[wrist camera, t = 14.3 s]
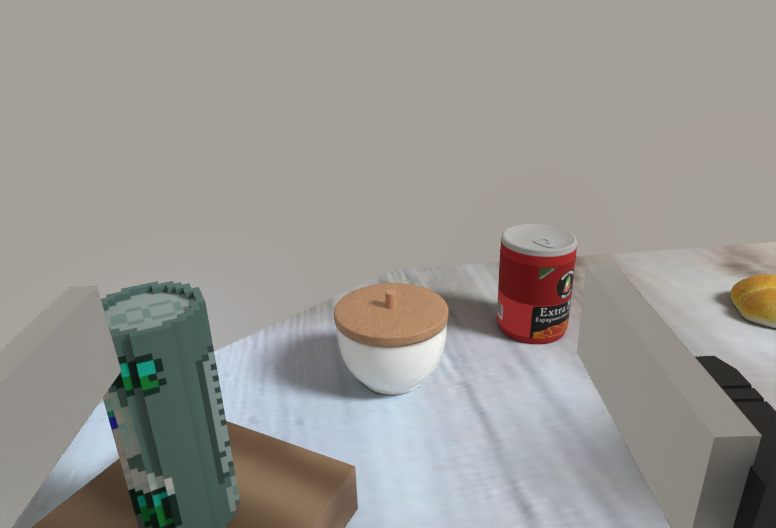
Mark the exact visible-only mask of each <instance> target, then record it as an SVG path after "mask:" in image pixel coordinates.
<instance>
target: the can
mask: <svg viewBox="0 0 776 528" xmlns="http://www.w3.org/2000/svg"><path fill="white" fill-rule="evenodd" d="M101 302H102V306H103V309H104V313H105V316H106V320H107V323H108V327H109V330H110V334H111V337H112V341H113V344H114V348H115V351H116V355H117V358H118V362H119V365H120V369H121V372H120V373H119V375H118V376H117V378H116V379H115V381H114V382H113V383H112V385H111V386H110V388H109V389H108V391H107V392H106V393H105V395H104V396H103V400H104V404H105V407H106V411H107V414H108V418H109V422H110V425H111V429H112V433H113V436H114V440H115V443H116V447H117V451H118V454H119V458H120V462H121V465H122V469H123V472H124V476H125V480H126V483H127V487H128V490H129V494H130V498H131V501H132V505H133V509H134V512H135V516H136V519H137V523H138V527H139V528H227V525H226V524H227V523H230V522H232V518H231V517H232V516H235V515H237V511H236V506H235V505H238V504H240V499H239V493H238V487H237V481H236V476H235V470H234V464H233V458H232V453H231V447H230V441H229V435H228V430H227V424H226V418H225V413H224V407H223V401H222V395H221V390H220V384H219V378H218V372H217V367H216V361H215V355H214V349H213V344H212V339H211V332H210V327H209V321H208V315H207V309H206V304H205V300H204V298H203V296H202V294H201V291H200V289H199V287H197V288H192V289H191V287H190V284H184V285H182V284H181V283H180V282H179V283H175V284H174V283H173V281H171V282H166V283H161V284H158V282H153V283H148V284H143V285H138V286H133V287H128V288H123V289H121V292H118V293H114V294H108V295H106V298H103V299H101Z"/></svg>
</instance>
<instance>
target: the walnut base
mask: <svg viewBox="0 0 776 528" xmlns="http://www.w3.org/2000/svg"><path fill="white" fill-rule="evenodd" d="M226 424H227V430H228V435H229V441H230V447H231V453H232V458H233V464H234V470H235V476H236V481H237V487H238V493H239V499H240V504H238V505H235V506H236V511H237V515H235V516H232V517H231V518H232V522H230V523H227V524H226V525H227V528H345V526H346V525H347V523H348V522H349V521H350V519H351V518H352V516H353V515H354V513H355V512H356V510H357V509H358V505H357V489H356V474H355V466H352V465H349V464H347V463H344V462H341V461H338V460H335V459H332V458H330V457H327V456H324V455H321V454H318V453H315V452H313V451H310V450H307V449H304V448H301V447H298V446H296V445H293V444H290V443H287V442H284V441H281V440H279V439H276V438H273V437H270V436H267V435H264V434H262V433H259V432H256V431H253V430H250V429H247V428H245V427H242V426H239V425H236V424H233V423H230V422H228V421H226ZM32 528H139V527H138V523H137V519H136V516H135V512H134V509H133V505H132V501H131V498H130V494H129V490H128V487H127V483H126V480H125V476H124V472H123V469H122V465H121V462H120V458H119V459H118V460H117V461H116V462H114V463H113V464H112V465H110V466H109V467H108V468H107V469H105V470H104V471H103V472H102V473H100V474H99V475H98V476H96V477H95V478H94V479H93V480H91V481H90V482H89V483H88V484H86V485H85V486H84V487H82V488H81V489H80V490H79V491H77V492H76V493H75V494H74V495H72V496H71V497H70V498H68V499H67V500H66V501H65V502H63V503H62V504H61V505H60V506H58V507H57V508H56V509H54V510H53V511H52V512H51V513H49V514H48V515H47V516H46V517H44V518H43V519H42V520H41V521H39V522H38V523H37V524H35V525H34V526H33V527H32Z"/></svg>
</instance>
